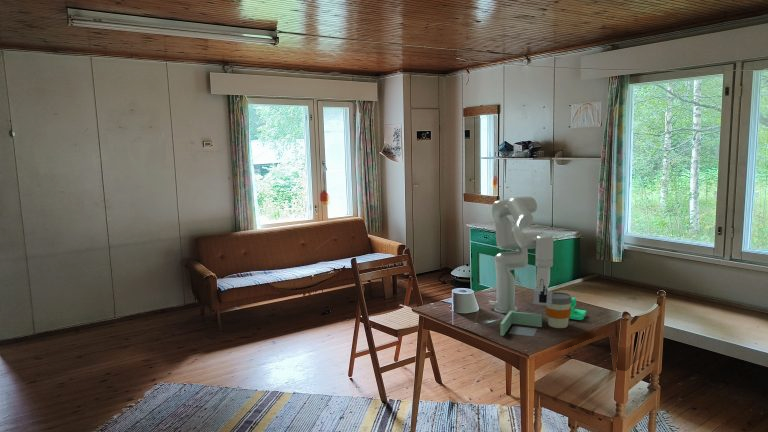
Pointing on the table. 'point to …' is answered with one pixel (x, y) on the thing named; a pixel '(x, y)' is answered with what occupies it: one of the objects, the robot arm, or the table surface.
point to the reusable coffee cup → (559, 310)
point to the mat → (523, 331)
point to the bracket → (536, 297)
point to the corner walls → (520, 320)
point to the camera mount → (576, 312)
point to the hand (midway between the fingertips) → (543, 301)
